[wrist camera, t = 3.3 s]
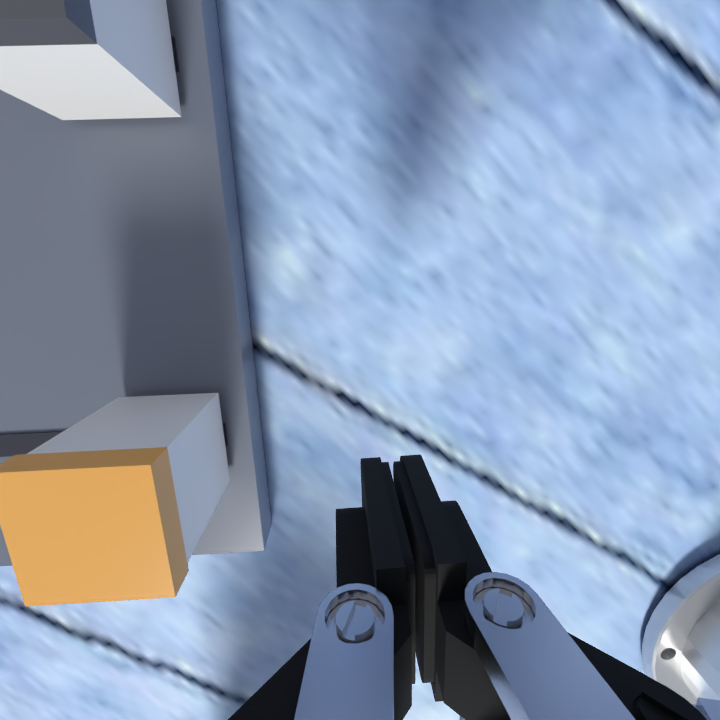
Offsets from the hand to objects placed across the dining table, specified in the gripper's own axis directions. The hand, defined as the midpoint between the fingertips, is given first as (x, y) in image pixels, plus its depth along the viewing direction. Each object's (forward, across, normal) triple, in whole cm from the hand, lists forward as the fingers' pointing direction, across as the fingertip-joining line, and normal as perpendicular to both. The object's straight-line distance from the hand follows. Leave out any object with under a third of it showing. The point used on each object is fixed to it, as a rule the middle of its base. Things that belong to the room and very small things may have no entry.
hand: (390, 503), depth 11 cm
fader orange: (+6, +8, +1) cm, 10 cm away
